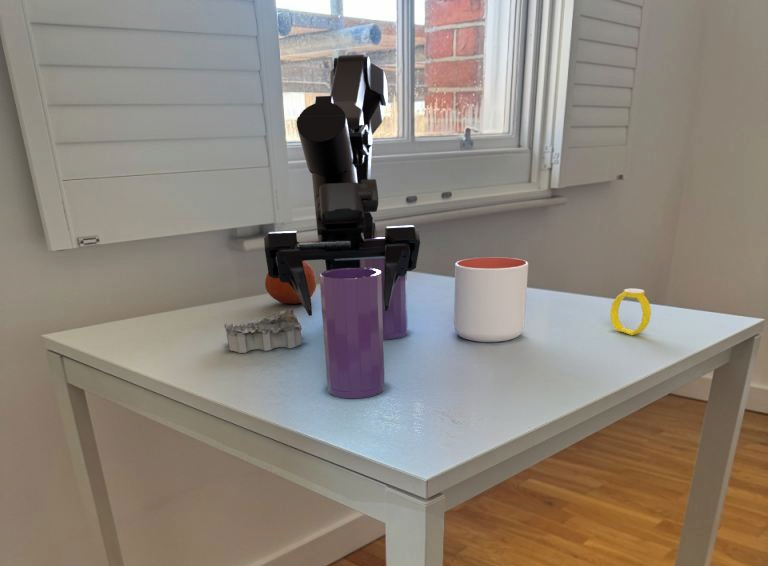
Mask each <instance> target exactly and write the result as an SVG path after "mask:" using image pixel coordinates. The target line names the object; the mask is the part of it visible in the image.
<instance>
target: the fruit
mask: <svg viewBox="0 0 768 566" xmlns="http://www.w3.org/2000/svg"><path fill="white" fill-rule="evenodd" d="M303 267H304V272H305V276H306V280H307V285H308V289H309V294H310V298H312V297H313V295H314V294H315V292H316V288H317V279H316V274H315V271H314V268H313V267H312V266H311V265H310V264H309V262H307V261H306V260H305V261H303ZM264 287H265V290H266V292H267V294H268V295H269V296H270V297H272V299H274V300H275V301H277V302H278V303H281V304H287V305H289V304H290V305H296V304H302V302H301V300H300V299H299V297H298V295H297V294H296V292H295V291H294V290H293V289H292V287H291V286H290V285H289V284H288V283H282V282H280V280H279V278H272V277H270V276H269V274H268V272H267V273H266V277H265V281H264Z"/></svg>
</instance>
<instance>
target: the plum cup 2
mask: <svg viewBox="0 0 768 566" xmlns="http://www.w3.org/2000/svg"><path fill="white" fill-rule="evenodd" d="M371 240H385V237H378V238H371V239H364V241H371ZM359 268H371V269H377V270H379V271H381V282H382V314H383V341H384V340H385V341H386V340H395V339H400V338H403V337H405V336H407V335H408V275H407V274H408V273H407V274H406V275H405V276H400V277H398V279H397V282H396V284H395V286H394V288H393V291H392V295H391V300H390V304H389V308H388V311H385V310H384V305H383V274H384V258H378V259H359Z"/></svg>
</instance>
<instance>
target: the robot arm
mask: <svg viewBox="0 0 768 566" xmlns="http://www.w3.org/2000/svg"><path fill="white" fill-rule="evenodd" d="M385 73H386V72H385V70H384V69H383V68H381V67H379V66H377V65H376V64H375V63H372V62H371V59H370V57H369V55H368V56H365V55H364V54H344V55H342V54H341V55H338V57H334V58H333V68H332V69H331V70H330V71H329V95H317V96H315V101H314V103H313V104H310V105H308V106H307V107H305V108H304V109H303V110H302V111H301V113H300V114H299V115H298V117H296V128H297V132H298V136H299V140H300V144H301V147H302V151H303V155H304V159H305V163H306V166H307V169H308V171H309V172H310V174H311V179H312V190H313V191H312V192H313V201H314V213H315V222H316V233H317V240H316V241H315V240H314V241H298V238H297V237H298V236H297V230H290V231H289V230H288V231H268V232H267V233H266V235H265V236H264V238H263V242H264V243H263V244H264V245H263V246H264V254H265V259H266V266H267V273H268V274H269V276H270V277H272V278H279V280H280V282H282V283H288V284H289V285H290V286H291V287H292V289H293V290H294V291H295V292H296V294H297V295H298V297H299V299H300V300H301V302H302V303H301V304H302V306H303V308H304V310H305V311H306V314H307V315H308V316H309V317H312V316H313V310H312V299H311V298H312V297H311V298H310V294H309V289H308V285H307V280H306V276H305V272H304V267H303V261H305V262H306V261H325V269H326V270H325V271H328V270H333V269H342V268H359V259H378V258H384V274H383V305H384V310H385V311H388V308H389V304H390V300H391V295H392V291H393V288H394V286H395V284H396V282H397V279H398V277H400V276H405V275H406V274H408V272H412V271H414V270H415V269H416V268H417V263H418V259H419V258H418V257H419V251H420V246H421V239H420V237H421V236H420V232H419V230H418V229H417V228H416V226H415V225H392V226H385V230H384V238H385V240H371V241H364V239H371V238H379V235H378V232H377V226H376V222H375V220H374V217H373V215H372V213H375V212H376V213H377V211H378V208H379V191H378V183H377V179H376V178H374V179H373V178H371V177H372V175H371V173H372V151H373V149H372V147H373V135H374V134H375V132H376V131H377V130H378V128H379V127H380V126H381V125H382V123H383V121H384V120H383V119H384V107H387V106H388V82H387V77H386V74H385Z"/></svg>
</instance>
